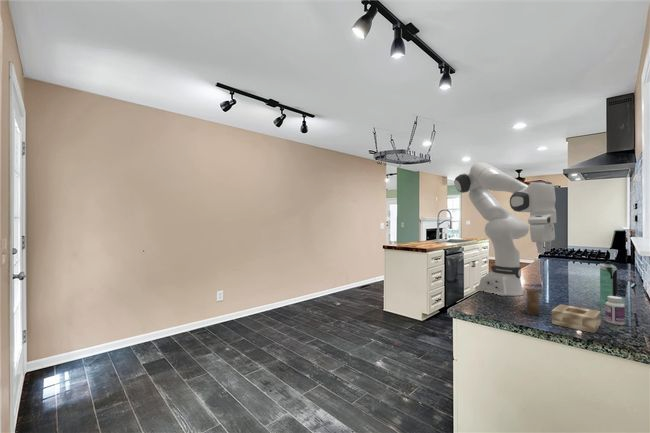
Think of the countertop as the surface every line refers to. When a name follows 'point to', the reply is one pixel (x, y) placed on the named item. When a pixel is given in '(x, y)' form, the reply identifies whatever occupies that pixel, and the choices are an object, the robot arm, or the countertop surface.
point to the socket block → (576, 318)
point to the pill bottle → (615, 310)
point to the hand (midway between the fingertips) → (544, 252)
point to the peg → (533, 302)
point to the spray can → (607, 282)
